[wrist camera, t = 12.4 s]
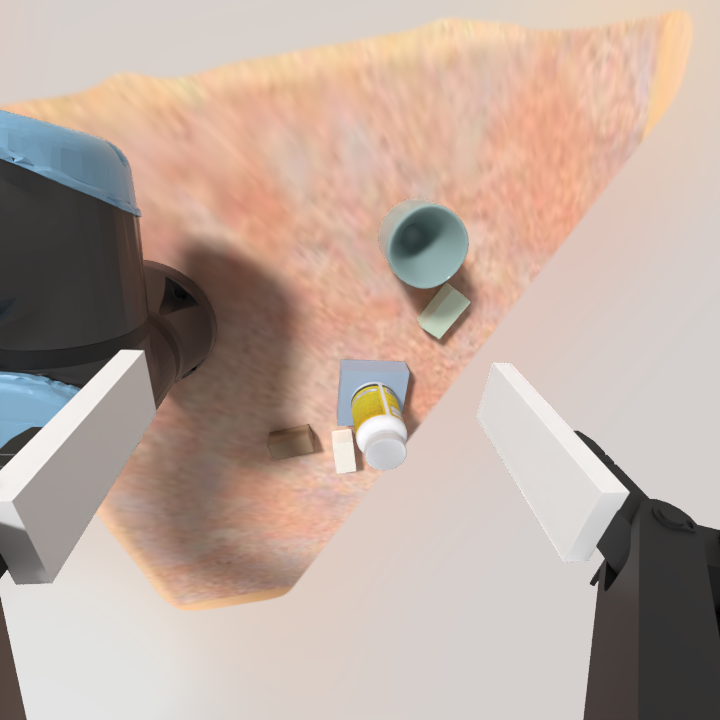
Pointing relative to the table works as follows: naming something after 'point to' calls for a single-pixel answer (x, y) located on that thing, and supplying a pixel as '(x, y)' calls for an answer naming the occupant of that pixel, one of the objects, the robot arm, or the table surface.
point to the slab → (364, 372)
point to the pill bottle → (379, 425)
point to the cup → (422, 242)
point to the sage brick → (443, 310)
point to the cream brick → (343, 451)
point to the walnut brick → (291, 442)
